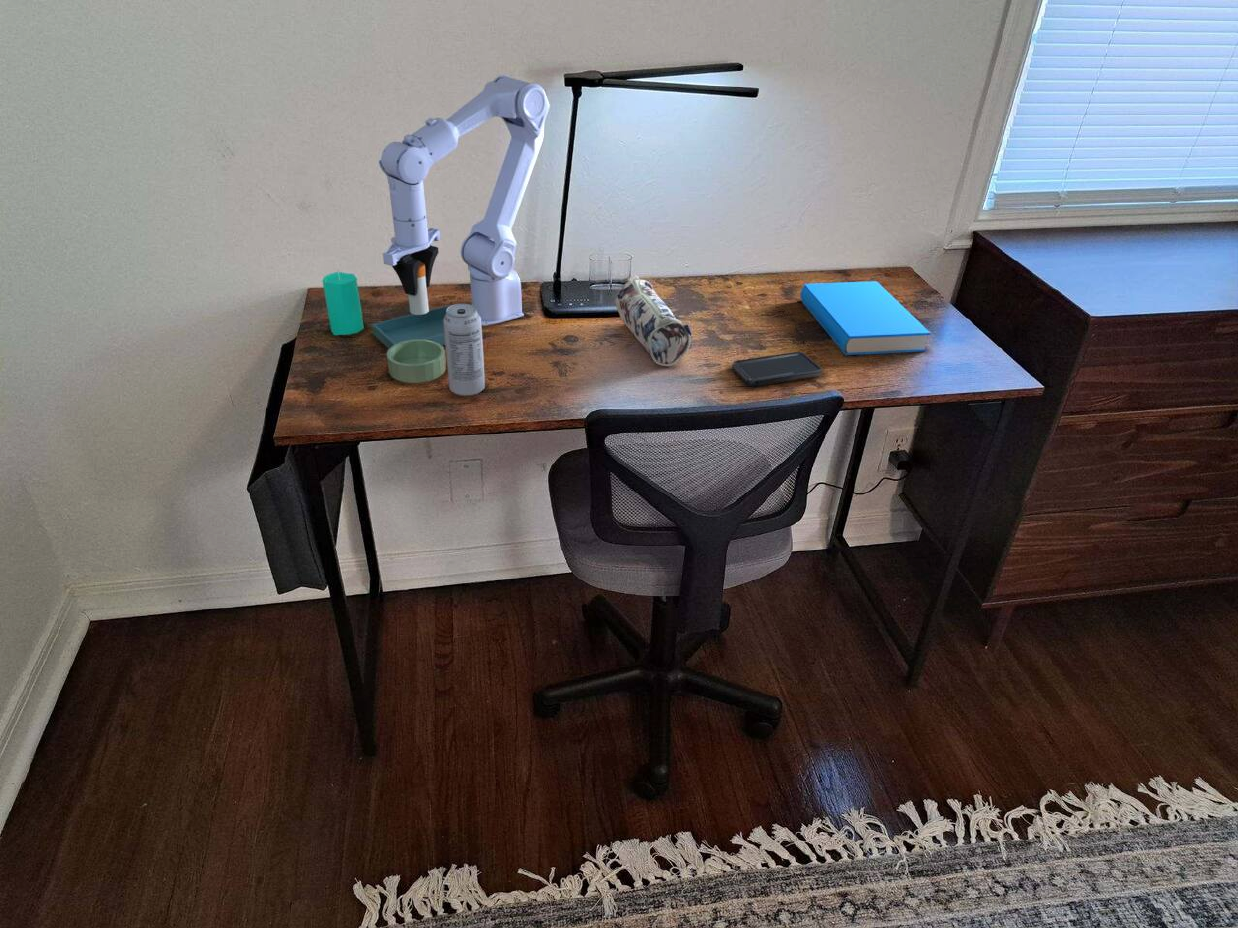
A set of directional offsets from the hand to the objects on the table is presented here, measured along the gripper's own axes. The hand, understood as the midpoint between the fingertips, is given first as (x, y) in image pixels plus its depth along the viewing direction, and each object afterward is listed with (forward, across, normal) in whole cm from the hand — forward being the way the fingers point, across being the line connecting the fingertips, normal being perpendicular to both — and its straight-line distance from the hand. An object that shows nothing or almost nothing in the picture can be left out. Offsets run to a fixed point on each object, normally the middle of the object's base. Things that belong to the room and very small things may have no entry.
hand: (417, 290), depth 153 cm
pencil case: (+10, -19, +39) cm, 44 cm away
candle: (+10, +4, -14) cm, 18 cm away
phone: (+10, -18, +64) cm, 67 cm away
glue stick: (+4, 0, 0) cm, 4 cm away
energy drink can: (+10, +13, +18) cm, 24 cm away
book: (+10, -46, +74) cm, 87 cm away
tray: (+10, -1, 0) cm, 10 cm away
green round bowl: (+10, +11, +6) cm, 16 cm away
